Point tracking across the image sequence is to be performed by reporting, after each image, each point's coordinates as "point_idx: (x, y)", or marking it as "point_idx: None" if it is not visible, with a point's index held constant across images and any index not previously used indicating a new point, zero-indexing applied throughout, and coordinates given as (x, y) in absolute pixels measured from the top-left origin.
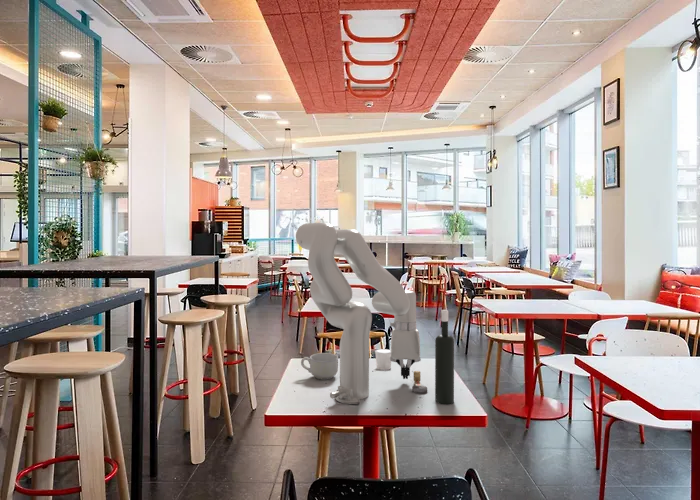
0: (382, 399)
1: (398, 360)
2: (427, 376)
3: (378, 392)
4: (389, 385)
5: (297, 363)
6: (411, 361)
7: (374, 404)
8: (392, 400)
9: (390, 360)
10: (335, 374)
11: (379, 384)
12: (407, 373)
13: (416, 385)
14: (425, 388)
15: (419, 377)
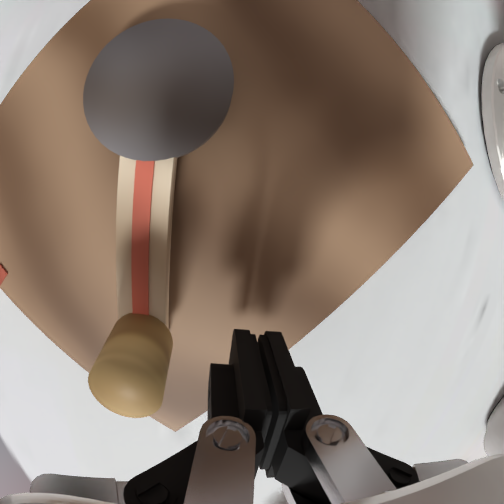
0: (442, 68)
1: (394, 487)
2: (95, 459)
3: (446, 206)
4: (346, 349)
5: None
6: (182, 497)
7: (470, 19)
8: (392, 30)
9: (463, 462)
10: (501, 410)
11: (393, 362)
12: (242, 360)
13: (167, 177)
14: (107, 59)
15: (111, 334)
